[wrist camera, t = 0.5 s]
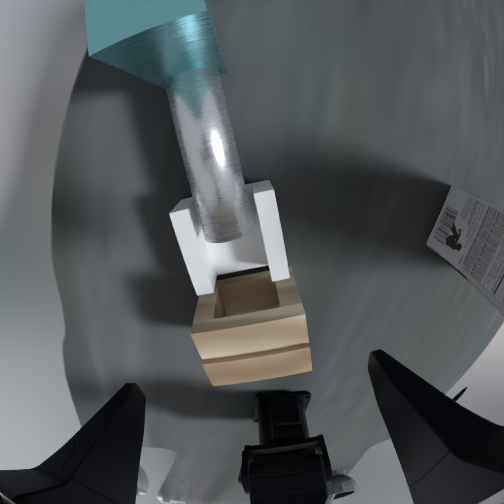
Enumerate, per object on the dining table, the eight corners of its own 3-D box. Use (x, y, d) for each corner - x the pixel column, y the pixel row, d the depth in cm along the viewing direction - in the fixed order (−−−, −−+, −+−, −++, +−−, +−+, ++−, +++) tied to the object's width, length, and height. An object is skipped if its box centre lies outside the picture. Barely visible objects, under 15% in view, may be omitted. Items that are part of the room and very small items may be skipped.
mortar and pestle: (360, 464, 45) (370, 504, 34) (339, 477, 48) (346, 514, 37) (320, 468, 43) (328, 513, 32) (301, 480, 47) (306, 520, 36)
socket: (297, 314, 24) (312, 370, 18) (218, 329, 24) (213, 386, 18) (290, 265, 21) (306, 318, 16) (202, 283, 22) (189, 338, 16)
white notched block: (283, 255, 21) (289, 278, 18) (203, 271, 21) (197, 295, 18) (268, 179, 19) (273, 189, 16) (181, 199, 19) (169, 213, 16)
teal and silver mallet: (259, 217, 18) (273, 302, 10) (202, 229, 19) (168, 319, 10) (214, 23, 13) (188, -61, 4) (156, 40, 13) (84, -20, 4)
